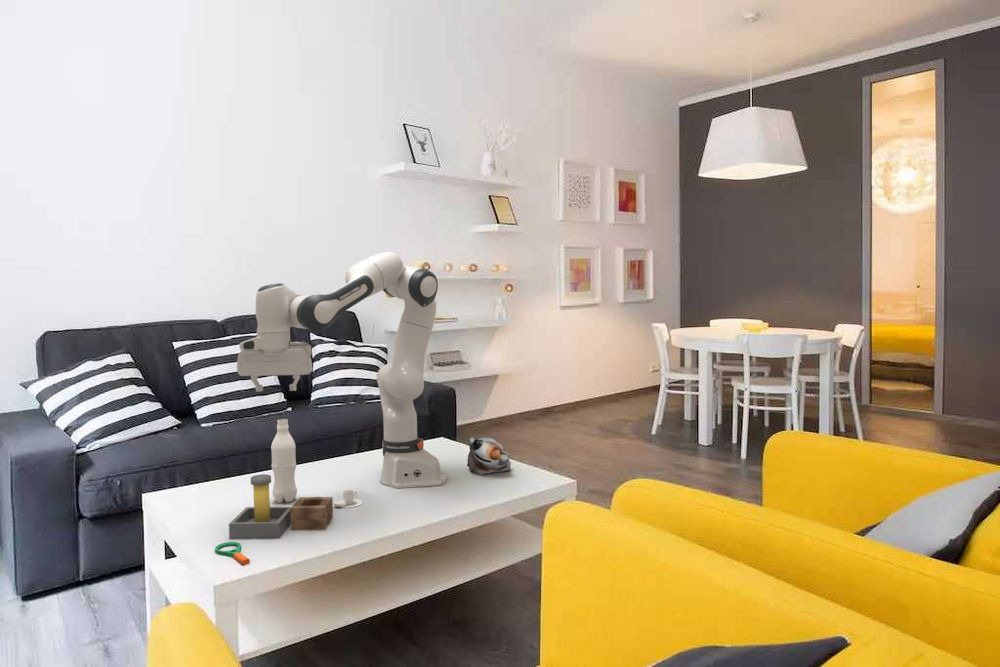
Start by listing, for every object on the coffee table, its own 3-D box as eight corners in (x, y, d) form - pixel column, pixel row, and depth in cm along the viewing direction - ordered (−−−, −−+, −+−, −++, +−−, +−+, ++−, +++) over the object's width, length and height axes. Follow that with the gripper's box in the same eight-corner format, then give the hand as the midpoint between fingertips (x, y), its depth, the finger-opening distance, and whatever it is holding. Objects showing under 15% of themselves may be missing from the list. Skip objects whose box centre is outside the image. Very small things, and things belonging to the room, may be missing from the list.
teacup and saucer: (335, 511, 202) (334, 497, 202) (330, 503, 209) (330, 489, 209) (364, 506, 205) (364, 493, 205) (359, 499, 213) (358, 486, 212)
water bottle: (290, 495, 216) (287, 416, 214) (301, 500, 211) (299, 420, 208) (268, 500, 211) (265, 420, 209) (279, 506, 206) (276, 423, 203)
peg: (275, 522, 189) (273, 474, 188) (269, 529, 184) (267, 479, 183) (256, 522, 189) (254, 474, 188) (249, 529, 184) (247, 480, 183)
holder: (332, 517, 196) (332, 496, 195) (325, 529, 186) (324, 507, 186) (300, 517, 195) (299, 497, 195) (291, 529, 186) (290, 508, 186)
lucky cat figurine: (518, 467, 244) (521, 435, 236) (498, 491, 235) (500, 458, 226) (478, 449, 251) (479, 417, 243) (458, 471, 242) (458, 438, 233)
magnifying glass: (211, 550, 174) (211, 544, 173) (235, 544, 177) (235, 538, 177) (233, 569, 162) (233, 562, 162) (258, 562, 166) (258, 555, 166)
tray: (293, 520, 193) (292, 506, 193) (279, 538, 180) (278, 523, 180) (246, 521, 193) (246, 507, 193) (229, 538, 180) (228, 523, 180)
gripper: (314, 340, 195) (316, 388, 197) (241, 341, 195) (244, 389, 196) (308, 342, 189) (310, 392, 190) (233, 343, 189) (236, 393, 190)
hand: (276, 390), depth 193 cm, fingers open, 8 cm apart
